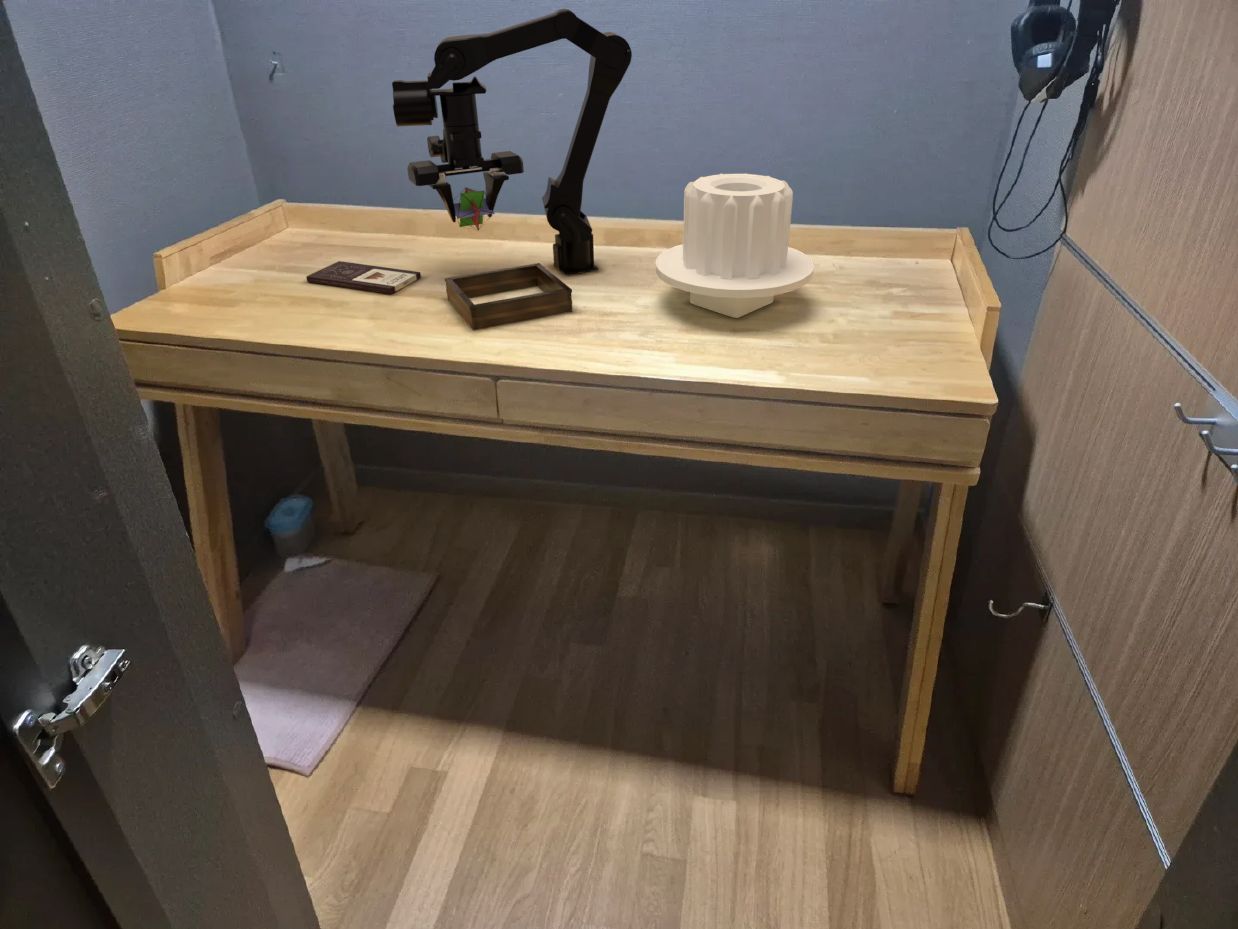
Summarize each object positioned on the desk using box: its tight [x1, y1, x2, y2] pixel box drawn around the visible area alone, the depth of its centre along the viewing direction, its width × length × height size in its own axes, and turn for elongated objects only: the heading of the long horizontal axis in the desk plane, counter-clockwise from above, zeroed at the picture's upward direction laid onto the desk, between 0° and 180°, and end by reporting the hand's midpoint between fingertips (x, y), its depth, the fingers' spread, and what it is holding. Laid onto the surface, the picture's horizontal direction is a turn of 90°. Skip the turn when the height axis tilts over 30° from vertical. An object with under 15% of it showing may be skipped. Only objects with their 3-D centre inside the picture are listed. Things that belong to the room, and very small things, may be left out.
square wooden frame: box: [444, 262, 573, 331], centre depth 133 cm, size 17×15×4 cm
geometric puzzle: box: [453, 186, 495, 232], centre depth 141 cm, size 7×7×8 cm
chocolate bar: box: [305, 260, 422, 295], centre depth 145 cm, size 9×1×18 cm
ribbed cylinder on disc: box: [655, 172, 815, 319], centre depth 128 cm, size 25×25×19 cm
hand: (471, 219), depth 142 cm, fingers closed on geometric puzzle, 6 cm apart
